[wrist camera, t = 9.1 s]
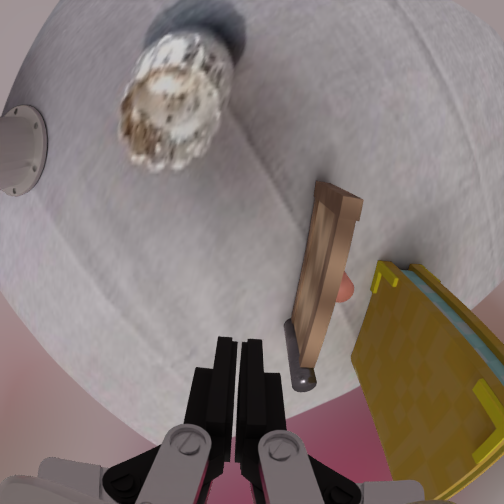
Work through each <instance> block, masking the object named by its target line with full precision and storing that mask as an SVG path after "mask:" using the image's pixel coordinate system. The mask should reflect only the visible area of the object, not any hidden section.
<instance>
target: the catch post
mask: <svg viewBox="0 0 504 504" xmlns="http://www.w3.org/2000/svg"><path fill="white" fill-rule="evenodd" d="M353 292H354V285H353V283H352V282H351V280H350V279H349V277H348V276H347V274H346V273H345V271H344V273H343V277H342V281H341V284H340V288H339V292H338V295H337V299H336V302H344V301H347V300H348V299H349V298H350V297H351V296H352V295H353Z"/></svg>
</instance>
